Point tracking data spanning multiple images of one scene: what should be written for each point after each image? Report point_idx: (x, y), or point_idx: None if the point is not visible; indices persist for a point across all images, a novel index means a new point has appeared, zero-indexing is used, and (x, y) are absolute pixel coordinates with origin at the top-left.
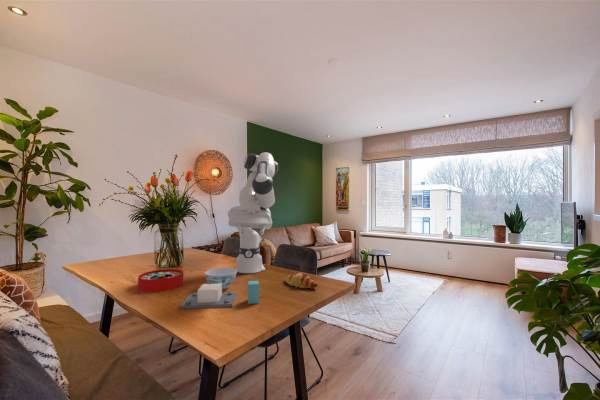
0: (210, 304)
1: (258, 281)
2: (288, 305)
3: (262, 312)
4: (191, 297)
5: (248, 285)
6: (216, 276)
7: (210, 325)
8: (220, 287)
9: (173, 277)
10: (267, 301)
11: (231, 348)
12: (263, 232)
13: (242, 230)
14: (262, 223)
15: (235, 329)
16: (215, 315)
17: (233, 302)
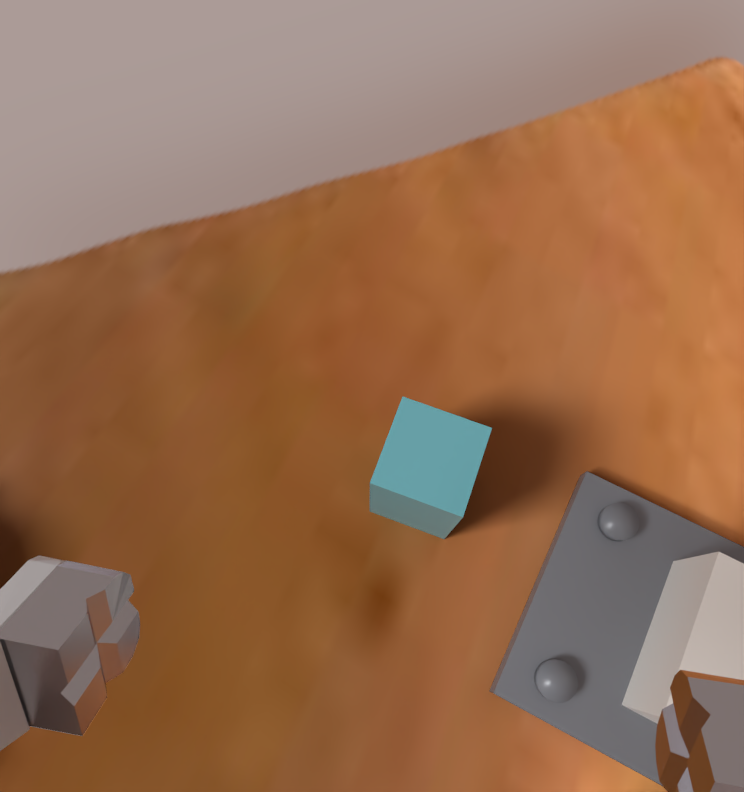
0: (729, 542)
1: (381, 458)
2: (253, 309)
3: (438, 302)
4: None
5: (488, 428)
6: None
7: (739, 301)
8: (676, 653)
9: None
10: (334, 437)
11: (677, 83)
12: (57, 560)
13: (734, 688)
14: None
15: (629, 204)
16: (700, 405)
17: (558, 529)
